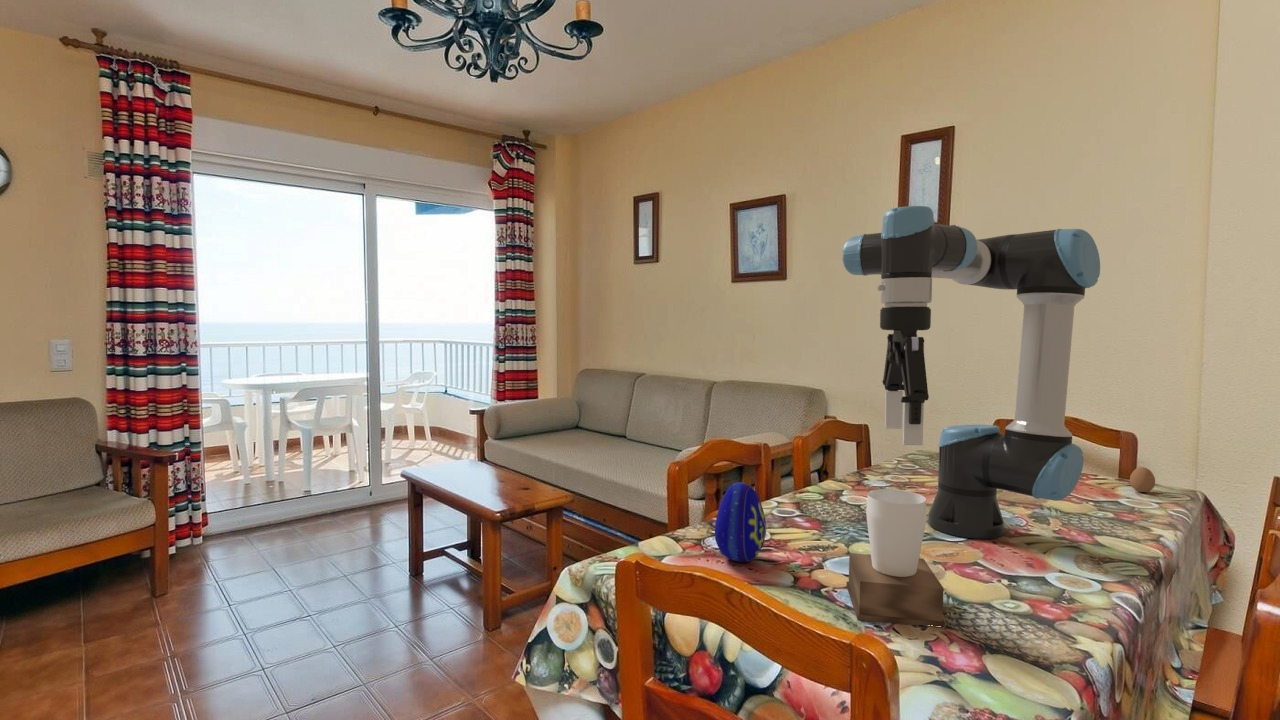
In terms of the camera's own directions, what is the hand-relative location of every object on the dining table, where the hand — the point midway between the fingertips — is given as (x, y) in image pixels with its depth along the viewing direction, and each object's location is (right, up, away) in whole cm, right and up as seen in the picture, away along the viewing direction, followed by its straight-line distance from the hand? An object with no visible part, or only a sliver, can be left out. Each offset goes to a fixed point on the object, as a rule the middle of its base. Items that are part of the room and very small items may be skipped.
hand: (902, 436), depth 103 cm
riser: (-2, -27, 0) cm, 28 cm away
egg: (+94, -24, +69) cm, 119 cm away
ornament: (-24, -26, +19) cm, 40 cm away
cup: (-2, -22, -1) cm, 22 cm away
